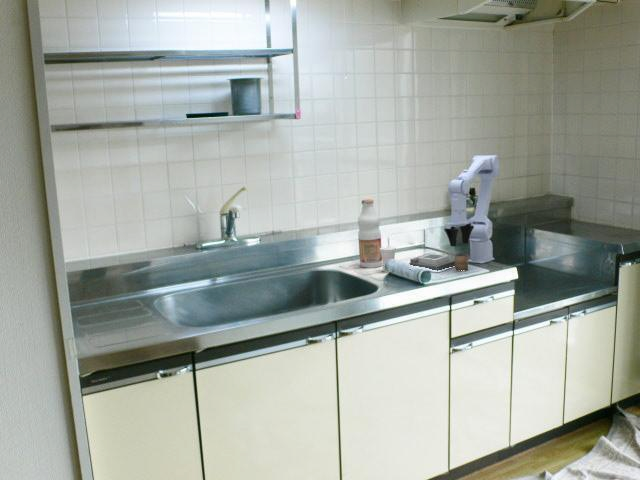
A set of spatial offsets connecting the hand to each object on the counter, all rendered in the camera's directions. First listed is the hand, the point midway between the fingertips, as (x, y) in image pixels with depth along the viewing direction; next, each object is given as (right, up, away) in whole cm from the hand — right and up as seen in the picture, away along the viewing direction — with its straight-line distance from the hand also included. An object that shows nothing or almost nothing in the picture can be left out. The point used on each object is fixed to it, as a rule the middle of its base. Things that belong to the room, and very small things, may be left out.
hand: (459, 244), depth 269 cm
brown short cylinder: (+1, -10, +3) cm, 10 cm away
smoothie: (-27, -11, +9) cm, 30 cm away
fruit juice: (-33, -9, +21) cm, 40 cm away
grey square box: (-8, -9, +10) cm, 16 cm away
